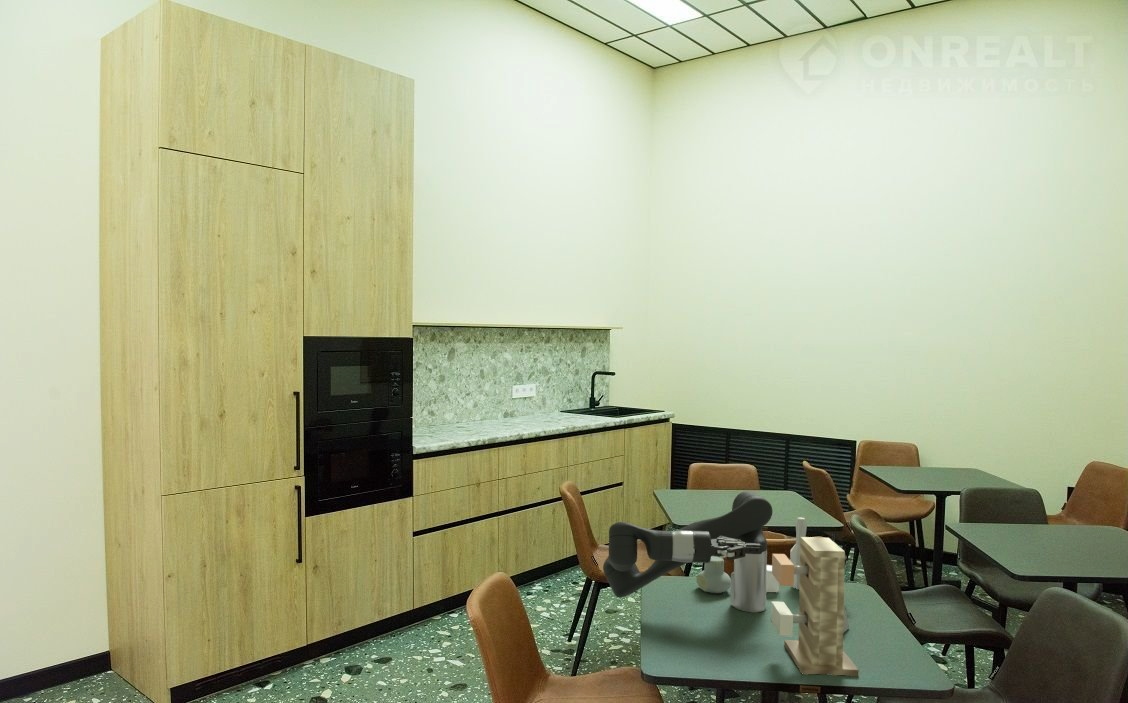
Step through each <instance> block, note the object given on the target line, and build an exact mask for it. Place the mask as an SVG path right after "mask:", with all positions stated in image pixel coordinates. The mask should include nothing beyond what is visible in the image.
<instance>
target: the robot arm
mask: <svg viewBox="0 0 1128 703" xmlns="http://www.w3.org/2000/svg"><path fill="white" fill-rule="evenodd" d="M772 516H773V506H772V505H771V503H770V502H769V501H768V500H767V499H766V498H764V497H763V496H761V495H759V494H757V493H755V492H752V491H746V490H745V491H742V492H740V493H738V494H737V495H736V496H735V498H734V499H733V502H732V506H731V510H730V511H729V512H727V513H725V514H723V515H720V516H717V517H713V518H708V519H703V520H699V521H695V522H692V523H690V524H687V525H685V526H682V527H681V528H679V529H677V530H655V529H649V528H646V527H645V528H644V527H643V526H642V527H641V526H638V525H635V524H633V523H629V522H626V521H618V522H615V523H613V524H611V525H610V527H609V529H608V556H607V558H606V559H605V561H604V562H603V565H602V570H603V574H604V576H605V577H606V578H605V579H606V580H607V582H608V584H609V586H610V588H611V591H612V592H613V594H614V596H615V597H616V598H620V599H621V598H624V597H627V596H630V595H632V594H633V593H635V592H637V591H639V590H640V589H642V588H644V587H646V586H647V585H648V584H651V583H652V582H654V581H655V580H657V579H659V578H661V577H662V576H664V575H666V574H667V573H669V572H672V571H673V570H675V569H678V568H680V567H681V566H683V565H686V564H688V563H699V564H700V563H701V564H705V563H709V562H710V560H711V556H716V557H719V558H722V559H724V558H726V560H727V561H733V560H734V561H733V572H731V574H730V579H731V587H730V606H732V607H734V608H735V609H737V610H739V611H742V612H746V613H747V612H748V613H761V612H763V611H765V610H766V609H767V592H766V573H767V565H768V563H767V561H768V558H767V557H768V542H767V538H766V536H765V535H764V530H763V527H764V526H766V525H767V524H768V523H769V522H770V520H771V518H772ZM638 540H640V541H642V542H643V543H644V545H645V548H646V553H647V556H648V558H649V559H650V560H653V562H652V564H651V565H650V566H649V567H648V568H647V569H646V570H645V571H642V573H641V572H640V570H639V567H638V566H637V564H636V563H637V561H638Z"/></svg>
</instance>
